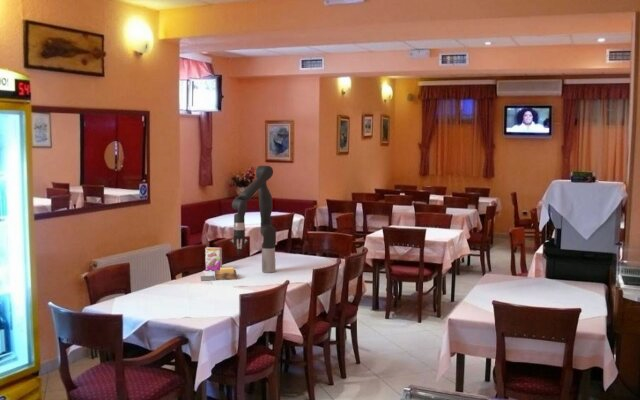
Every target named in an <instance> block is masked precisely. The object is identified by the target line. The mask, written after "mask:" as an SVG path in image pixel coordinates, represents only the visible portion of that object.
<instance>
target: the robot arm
mask: <svg viewBox="0 0 640 400" xmlns="http://www.w3.org/2000/svg"><path fill="white" fill-rule="evenodd" d="M273 174H274V170H273V167H272V166H270V165H259V166H257V168H256V169H255V177H256V179H255V180H254V181H253V182H251V183H250V184H249V185H247V186H246V188H244V189H243V191H242V193H240V194H239V195H238V196H237V197H235V198H234V199H233V201H232V202H231V207H232V209H233V210H237V213H234V215H233V237H232V239H231V240H229V242H230V244H231V245H232V247H234V249H236V253H237V255H241V254H242V249H244V248H245V247H246V246H247V244H248V243H249V240H248V239H246V235H245V234H246V224H245V216H246V213H247V207H248V204H247V202H248V201H250V200H251V199H252V197H253V196H254V195H255V194H256V192H258V204H259V213H260V214H259V215H260V230H259V231H260V234H261V236H262V238H263V241H262V244H261V272H262V273H266V274H267V273H269V274H271V273H276V243H277V242H276V241H277V231H276V228H275V227H274V226H273V225H272V220H271V217H272V212H273V196H272V194H271V192H270V189H269V188H268V185H267V181H269V180H270V179H271V178H272V176H273Z"/></svg>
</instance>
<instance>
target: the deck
mask: <svg viewBox="0 0 640 400" xmlns="http://www.w3.org/2000/svg"><path fill="white" fill-rule="evenodd" d="M237 275H238V274H237V271H236V269H234V273H220V270H215V271H214V278H215V280H214V281H227V280H230V281H231V280H237V277H238V276H237Z"/></svg>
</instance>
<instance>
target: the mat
mask: <svg viewBox="0 0 640 400" xmlns="http://www.w3.org/2000/svg"><path fill="white" fill-rule="evenodd" d="M207 281H208V282H209V281H210V282H212V281H216V280H215V275H201V276H200V282H207Z"/></svg>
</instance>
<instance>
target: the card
mask: <svg viewBox="0 0 640 400" xmlns="http://www.w3.org/2000/svg"><path fill="white" fill-rule="evenodd" d="M234 270H235V268H234V266H230V267H229V266H228V267H222V268H220V273H234Z"/></svg>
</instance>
